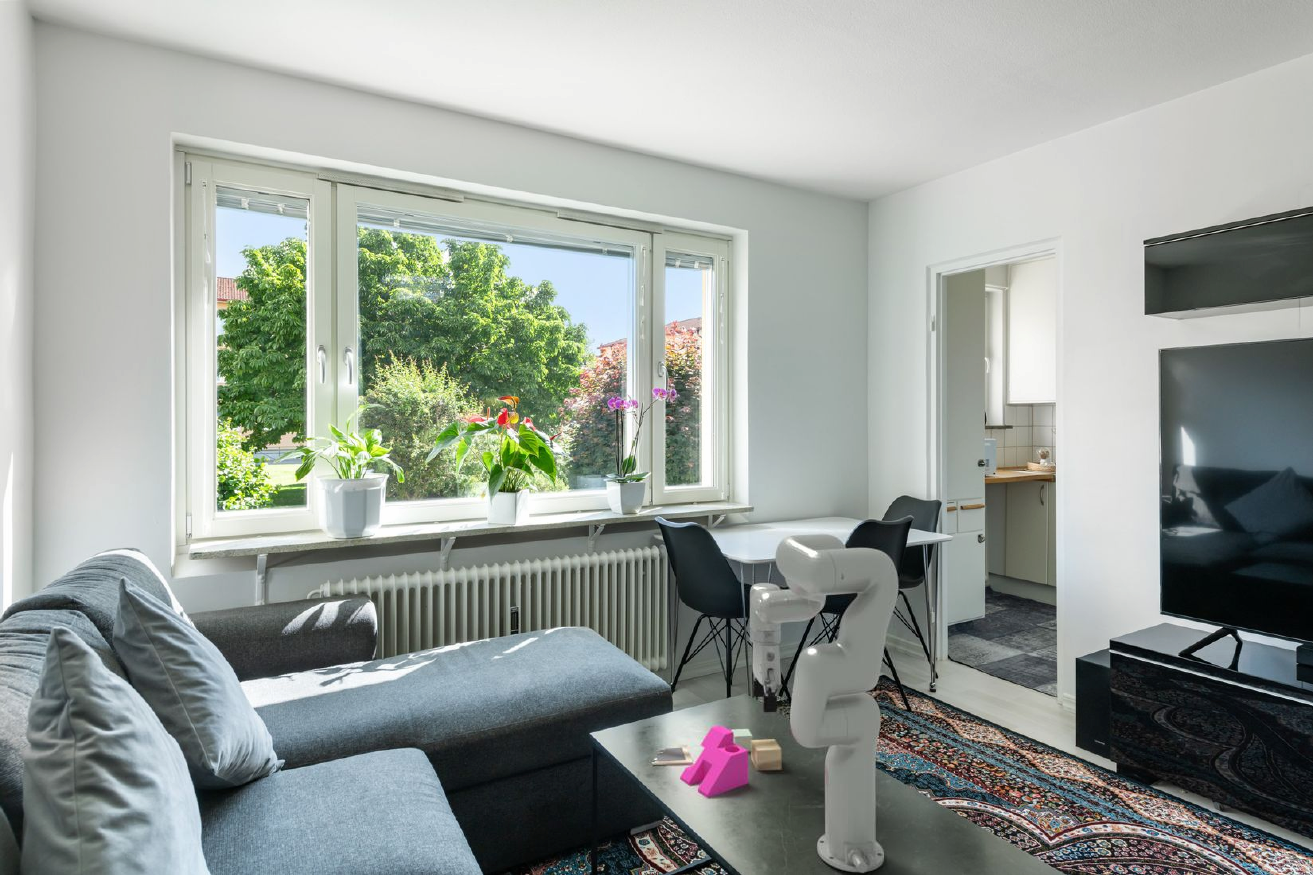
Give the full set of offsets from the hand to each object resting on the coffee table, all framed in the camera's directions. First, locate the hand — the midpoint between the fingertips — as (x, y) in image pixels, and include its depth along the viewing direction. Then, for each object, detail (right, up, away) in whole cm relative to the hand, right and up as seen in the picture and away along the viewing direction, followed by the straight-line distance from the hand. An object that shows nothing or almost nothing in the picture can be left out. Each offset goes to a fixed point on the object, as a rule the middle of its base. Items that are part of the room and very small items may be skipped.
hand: (764, 703), depth 177 cm
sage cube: (-5, -15, +8) cm, 18 cm away
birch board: (-23, -15, +3) cm, 28 cm away
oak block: (0, -15, -1) cm, 15 cm away
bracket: (-13, -15, -9) cm, 22 cm away
